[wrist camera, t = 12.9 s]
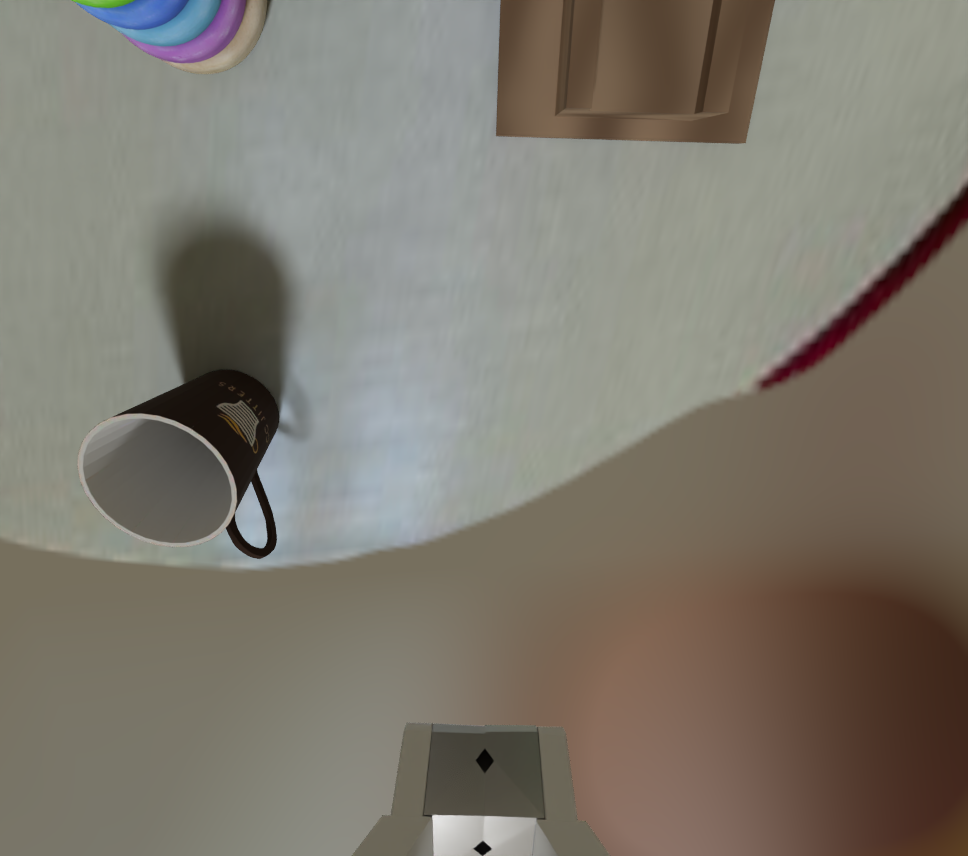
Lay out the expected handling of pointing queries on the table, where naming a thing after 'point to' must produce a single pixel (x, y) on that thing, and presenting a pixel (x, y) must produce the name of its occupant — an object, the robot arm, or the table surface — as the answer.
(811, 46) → the table surface
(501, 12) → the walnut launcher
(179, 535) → the coffee mug
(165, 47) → the stacking toy
